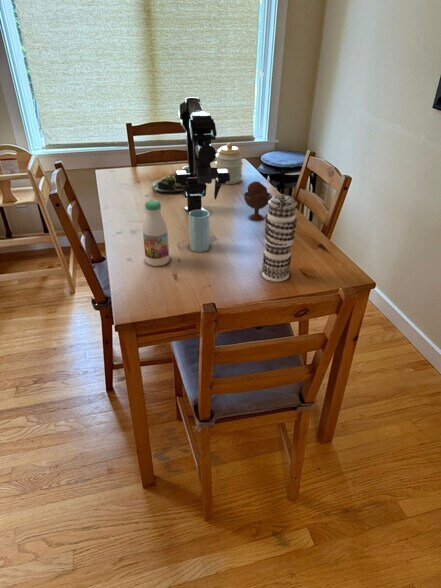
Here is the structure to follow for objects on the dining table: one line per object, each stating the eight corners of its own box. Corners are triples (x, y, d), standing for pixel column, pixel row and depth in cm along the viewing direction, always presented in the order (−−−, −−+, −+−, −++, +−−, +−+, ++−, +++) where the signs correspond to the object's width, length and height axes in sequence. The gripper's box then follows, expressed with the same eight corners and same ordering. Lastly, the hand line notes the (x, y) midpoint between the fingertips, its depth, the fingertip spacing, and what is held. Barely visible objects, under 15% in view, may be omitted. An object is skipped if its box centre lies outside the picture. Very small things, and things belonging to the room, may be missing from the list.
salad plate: (148, 181, 197) (147, 171, 194) (185, 179, 200) (184, 169, 198) (151, 195, 181) (151, 185, 179) (191, 193, 185) (191, 183, 182)
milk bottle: (146, 255, 136) (140, 198, 125) (169, 254, 136) (166, 197, 125) (145, 267, 129) (138, 207, 118) (169, 266, 130) (165, 207, 119)
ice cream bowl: (268, 224, 157) (271, 186, 149) (240, 222, 159) (241, 184, 151) (271, 214, 166) (274, 177, 158) (244, 211, 168) (246, 175, 159)
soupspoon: (193, 169, 215) (181, 170, 214) (193, 163, 213) (180, 164, 213) (199, 181, 197) (185, 183, 196) (198, 175, 195) (185, 176, 194)
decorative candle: (269, 284, 122) (277, 205, 108) (255, 270, 129) (260, 194, 115) (295, 278, 125) (306, 201, 111) (280, 264, 132) (288, 190, 118)
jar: (217, 175, 206) (217, 139, 196) (242, 176, 205) (244, 140, 195) (213, 183, 196) (213, 145, 186) (240, 185, 194) (242, 147, 184)
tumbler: (186, 245, 142) (185, 212, 135) (203, 241, 145) (202, 208, 138) (196, 253, 137) (195, 219, 130) (213, 248, 140) (213, 214, 133)
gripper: (175, 163, 129) (178, 209, 138) (233, 161, 132) (232, 206, 140) (173, 153, 138) (175, 197, 147) (227, 152, 141) (226, 195, 149)
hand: (202, 199), depth 146 cm, fingers open, 9 cm apart
